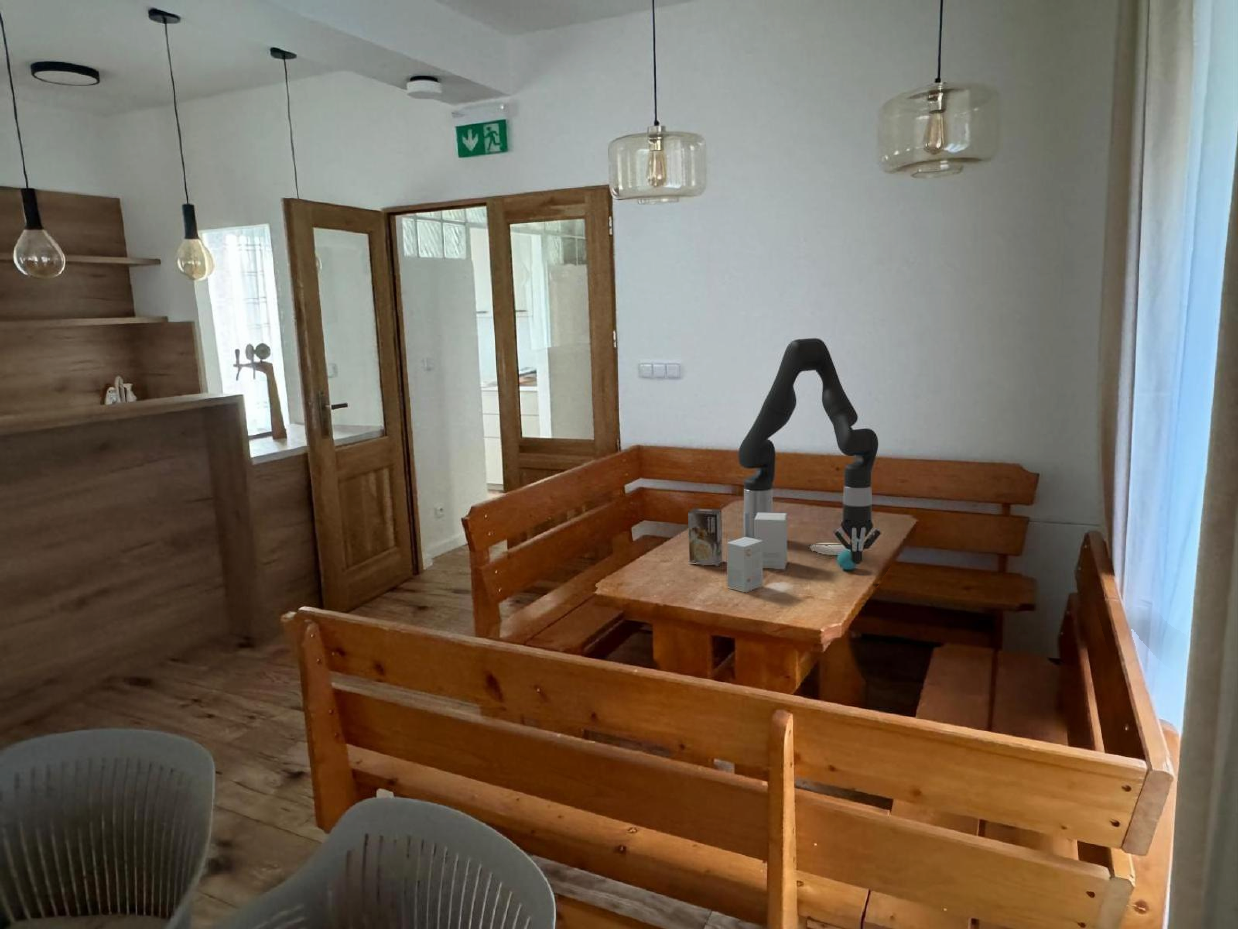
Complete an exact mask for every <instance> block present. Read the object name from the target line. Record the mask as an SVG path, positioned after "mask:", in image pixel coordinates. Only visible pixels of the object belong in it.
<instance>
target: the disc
mask: <svg viewBox="0 0 1238 929" xmlns="http://www.w3.org/2000/svg"><path fill="white" fill-rule="evenodd" d="M817 544H839V543H837V542H819V543H817ZM810 548H811V550H812V552H813V551H825V552H818V553H817V554H819V553H821V554H820V555H825V554H826V556H827V555H828V556H838V555H839V554H840V553H841V552H843V551H846V550H848V551H851V550H849V549H846V548H845V547H844V545H828V546H825V545H821V546H820V545H816V546H815V545H814V544H812V545H810V546H809V549H810ZM812 548H815V549H812ZM811 550H810V551H811ZM831 551H833V552H831Z"/></svg>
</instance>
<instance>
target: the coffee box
mask: <svg viewBox="0 0 1238 929" xmlns="http://www.w3.org/2000/svg"><path fill="white" fill-rule="evenodd" d="M687 517H688V518H687V520H688V550H689V551H688V553H689V557H688V559H689V563H690V562H691V563H698V564H706V565H719V564H720V563H721V561H722V560H723V538H722V537H723V536H722V535H723V534H722V533H723V532H722V530H723V529H722V528H723V527H722V526H723V525H722V509H715V508H714V509H711V508H695V507H694V508H691V510H689V512H688V514H687ZM722 562H723V561H722ZM721 564H722V563H721ZM721 564H720V565H721ZM720 565H719V566H720Z"/></svg>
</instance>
